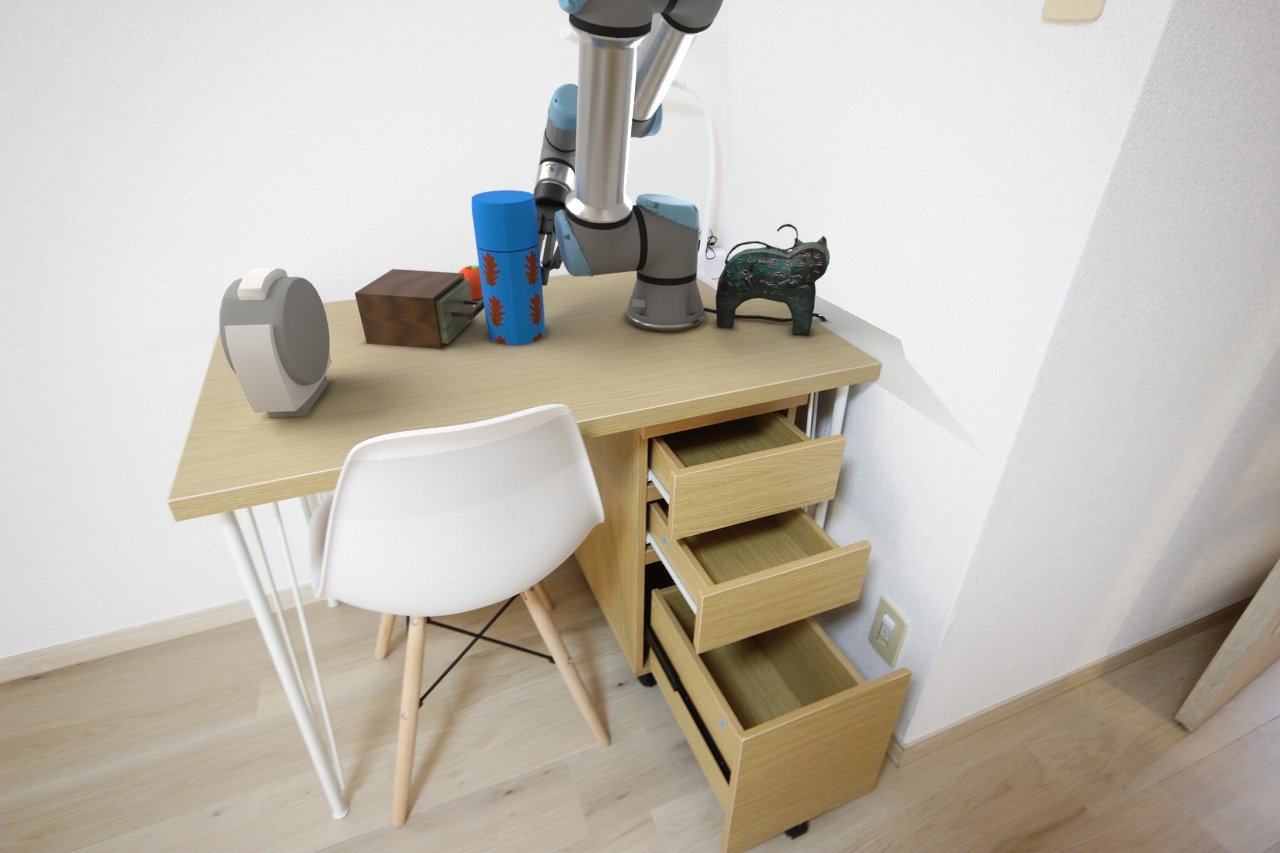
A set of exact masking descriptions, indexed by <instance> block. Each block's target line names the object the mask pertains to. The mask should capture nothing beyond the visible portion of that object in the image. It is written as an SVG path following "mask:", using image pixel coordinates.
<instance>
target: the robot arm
mask: <svg viewBox="0 0 1280 853" xmlns="http://www.w3.org/2000/svg"><path fill="white" fill-rule="evenodd" d="M557 2H558V5H559V7H560V9H561V10H562V11H563V12H564V13H565V12H566V13H567V14H568V25H569V26H570V27H571V28H572V30H573V31H574V32H575V34H576V35H577V36H578V40H579V41H578V66H577V70H578V71H577V84H576V83H565V84H562V85H560V86H558V87H557V88H556V89H555V90H554V92H553V94H552V97H551V99H550V103H549V105H548V110H547V119H546V125H545V127H544V132H543V138H542V147H541V149H540V150H541V151H540V157H539V163H538V168H537V172H536V173H537V174H536V178H535V185H534V186H535V187H534V189H533V193H532V194H533V195H534V200H535V205H536V214H537V227H538V239H539V252H540V257H541V255H542V259H541V261H540V265H541V278H542V287H543V286H547V285H548V284H549V277H550V272H551V271H552V270H559V269H560V268H561V266H562V264H563V266H564V268H565V270H566V271H567V273H568V274H569V275H570V276H572V277H590V278H593V277H594V276H603V275H611V274H612V275H613V274H619V273H620V274H621V273H629V272H636V280H635V283H634V287H633V290H632V292H631V295H630V298H629V302H628V305H627V314H626V315H627V320H628V322H629V323H630V324H632V325H633V326H634V327H637V328H639V329H643V330H647V331H650V332H651V331H652V332H657V333H658V332H659V333H675V332H676V333H677V332H683V331H688V330H692V329H694V328H696V327H698V326H700V325H701V324H702V323H703V321H704V320H705V312H706V313H709V314H714V315H716V309H713V308H709V307H704V303H703V299H702V296H701V293H700V289H699V286H698V281H697V280H698V278H697V276H698V258H699V244H700V231H701V226H700V225H701V224H700V209H699V207H698V206H697V204H696V203H695V202H693V201H692V200H689V199H686V198H683V197H680V196H679V197H678V196H674V195H669V194H661V193H643V194H639V195H637V197H636V199H635V204H633V201H632V200H631V199H630V197H629V196H627V194H626V187H627V178H628V165H629V155H630V144H631V138H638V139H643V138H645V137H654V136H656V135H658V134H659V133H660V131H661V129H662V124H663V120H664V109H663V108H664V107H663V103H662V102H663V99H664V97H665V95H666V94H667V91H668V90H669V88H670V87H671V84H672V82H673V81H674V79H675V77H676V76H677V74H678V72H679V70H680V68H681V66H682V65H683V63H684V61H685V58H687V55H688V54H689V52H690V50H691V48H692V47H693V45H694V43H695V41H696V39H697V37H698V36H699V35H700V34H702V33H705V32H706V31H707V30H709V28H710V27H711V26H712V24H713V23H714V21H715V19H716V18H717V16H718V14H719V12H720V10H721V7H722V5H723V2H724V0H557ZM544 241H545V243H544ZM556 242H557V245H556ZM543 244H544V248H543ZM555 247H556V248H555ZM542 250H543V254H542ZM819 314H820V313H817V312H813V317H812V318H818V319H819V320H821V321H822V322H827V321H828V320H827V318H826V317H825V316H823V315H822V316H819ZM734 319H738V320H760V321H761V320H762V321H770V322H776V323H792V317H786V318H784V317H783V318H782V317H774V316H767V315H758V314H757V315H756V314H736V313H735V318H734Z"/></svg>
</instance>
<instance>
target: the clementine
mask: <svg viewBox="0 0 1280 853" xmlns="http://www.w3.org/2000/svg"><path fill="white" fill-rule="evenodd" d="M458 273H464V278H465V279H469V281H470V288H471V295H472V301H476V300H479V299H483V293H482V285H481V278H480V270H479V265H468V266H465V267H463V268H462V269H460V270H459V272H458Z"/></svg>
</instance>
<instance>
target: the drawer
mask: <svg viewBox="0 0 1280 853" xmlns="http://www.w3.org/2000/svg"><path fill="white" fill-rule="evenodd" d="M435 304H436V310H437V316H438V322H439V328H440V334H441V339H442V343H447V344H450V342H452V340H454V339H455V338H456V337H457V336H458V335H459V333H461V332H462V331H463V330H464V329H465V328H466V327H467V326H468V325H469V324H470V323H471V322H472V321H473V320H474V319H475V318H476V317H477V316H478V315H479V314H481V312H482V311H483V310H485V309H484V301H483V298H481V300H480V301H479V300H473V299H472V295H471V288H470V281H469V279H463V280H462V281H460V282H459V283H458V284H457V285H456V284H455V285H454V286H453V287H452V288H451V289H449V290H448V291H447V292H446V293H444V294H443V295H442V296H441V297H439V298H438V299H437V300H436V301H435Z"/></svg>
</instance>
